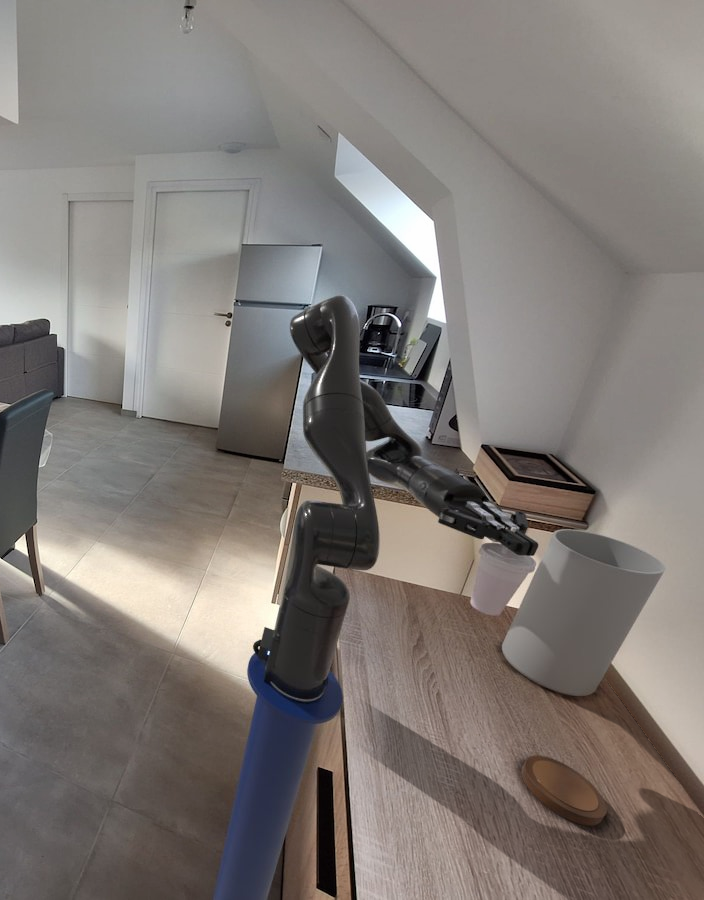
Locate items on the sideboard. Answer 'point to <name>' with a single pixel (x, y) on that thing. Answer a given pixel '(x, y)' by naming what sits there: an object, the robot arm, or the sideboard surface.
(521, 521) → the robot arm
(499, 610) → the smoothie
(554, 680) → the cylinder vase
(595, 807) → the coaster
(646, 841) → the sideboard surface
